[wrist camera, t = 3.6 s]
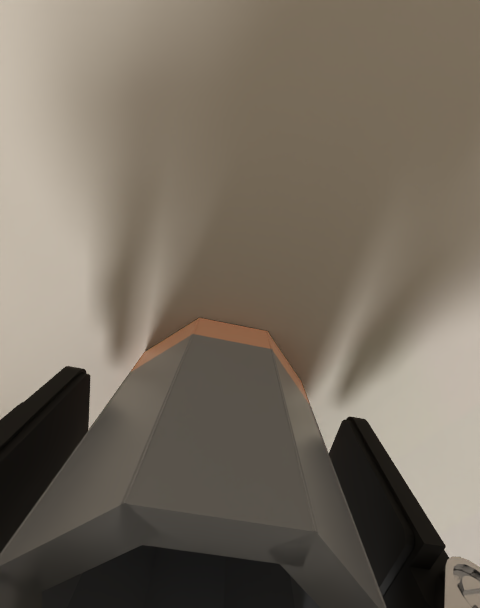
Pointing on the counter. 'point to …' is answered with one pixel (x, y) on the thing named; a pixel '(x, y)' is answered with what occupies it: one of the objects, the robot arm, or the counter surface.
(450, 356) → the counter surface
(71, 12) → the counter surface
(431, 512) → the counter surface
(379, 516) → the robot arm
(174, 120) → the counter surface
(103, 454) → the sleeve
